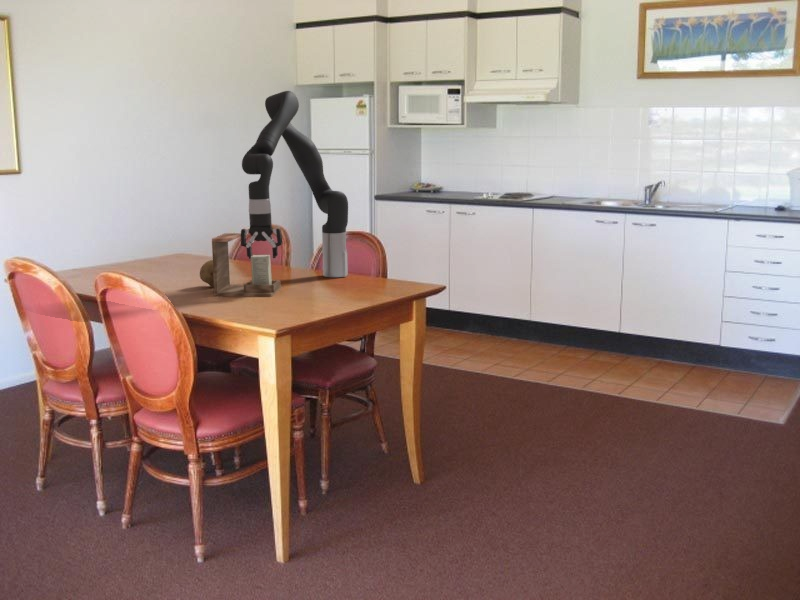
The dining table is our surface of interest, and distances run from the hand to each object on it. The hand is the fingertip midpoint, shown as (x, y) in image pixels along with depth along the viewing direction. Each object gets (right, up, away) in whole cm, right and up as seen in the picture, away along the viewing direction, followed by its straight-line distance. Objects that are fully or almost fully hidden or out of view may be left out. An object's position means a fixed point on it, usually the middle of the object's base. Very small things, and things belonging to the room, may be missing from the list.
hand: (262, 258), depth 311 cm
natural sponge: (-20, -10, +14) cm, 27 cm away
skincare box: (0, -11, +2) cm, 11 cm away
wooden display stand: (-5, -12, +3) cm, 13 cm away
